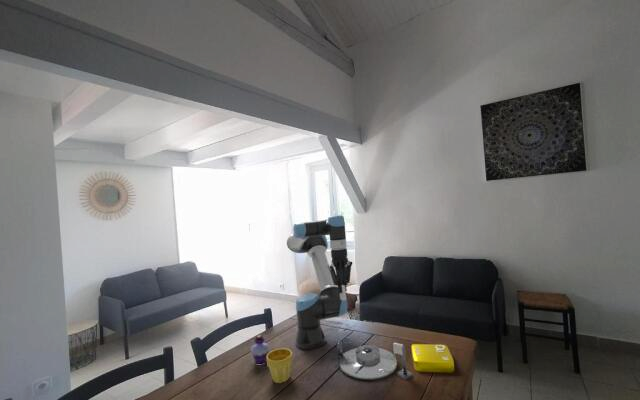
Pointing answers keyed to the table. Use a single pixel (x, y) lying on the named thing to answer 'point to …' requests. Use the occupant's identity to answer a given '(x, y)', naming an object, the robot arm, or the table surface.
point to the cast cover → (368, 355)
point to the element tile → (432, 358)
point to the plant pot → (279, 364)
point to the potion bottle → (260, 350)
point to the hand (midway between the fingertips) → (343, 299)
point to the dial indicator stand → (401, 350)
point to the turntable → (363, 372)
